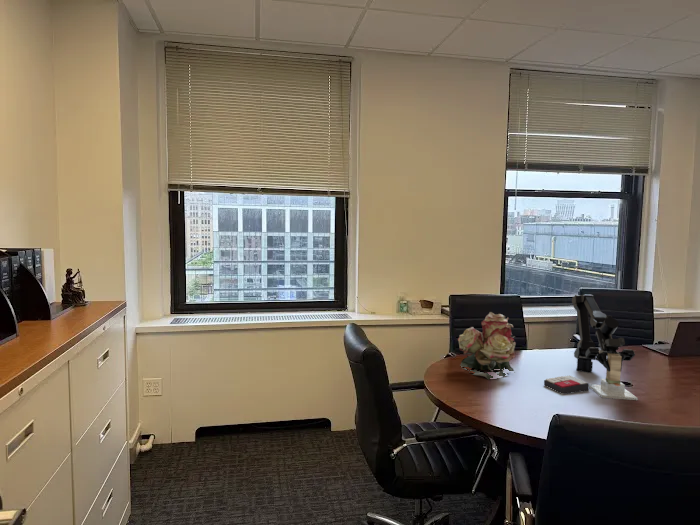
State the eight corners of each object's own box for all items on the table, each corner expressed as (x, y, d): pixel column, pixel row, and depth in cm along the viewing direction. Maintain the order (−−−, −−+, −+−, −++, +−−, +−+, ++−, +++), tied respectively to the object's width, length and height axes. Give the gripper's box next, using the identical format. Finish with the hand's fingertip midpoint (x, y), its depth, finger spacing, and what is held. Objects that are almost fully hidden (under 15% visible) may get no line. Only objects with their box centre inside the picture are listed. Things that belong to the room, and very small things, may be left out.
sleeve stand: (588, 386, 198) (589, 374, 198) (621, 388, 196) (622, 376, 196) (601, 397, 185) (602, 385, 184) (637, 400, 183) (638, 387, 182)
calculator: (543, 378, 198) (569, 374, 203) (543, 387, 199) (569, 382, 203) (562, 386, 188) (589, 381, 193) (562, 396, 188) (589, 391, 193)
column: (605, 381, 193) (607, 353, 192) (615, 382, 192) (617, 353, 191) (609, 385, 189) (611, 355, 188) (620, 385, 188) (621, 356, 187)
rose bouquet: (450, 366, 225) (452, 309, 223) (497, 362, 234) (499, 307, 232) (480, 383, 200) (482, 319, 198) (531, 377, 210) (534, 316, 208)
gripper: (589, 329, 194) (598, 361, 184) (634, 331, 191) (646, 363, 181) (581, 342, 202) (589, 373, 192) (624, 344, 200) (635, 375, 190)
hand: (614, 371), depth 189 cm, fingers closed on column, 4 cm apart
